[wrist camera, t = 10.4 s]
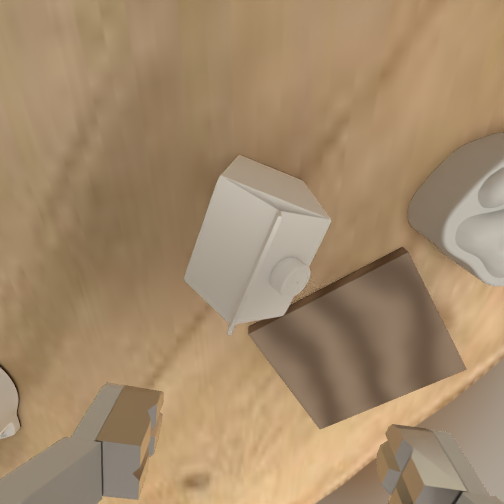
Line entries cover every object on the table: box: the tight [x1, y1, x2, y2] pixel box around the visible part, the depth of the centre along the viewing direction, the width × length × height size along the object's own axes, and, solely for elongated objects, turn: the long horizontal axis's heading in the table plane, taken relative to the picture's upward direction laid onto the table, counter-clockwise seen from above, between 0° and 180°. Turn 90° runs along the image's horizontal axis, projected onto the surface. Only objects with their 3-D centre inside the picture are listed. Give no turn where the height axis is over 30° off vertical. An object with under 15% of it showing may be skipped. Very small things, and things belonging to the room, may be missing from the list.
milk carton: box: [184, 155, 331, 336], centre depth 25 cm, size 7×7×19 cm
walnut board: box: [248, 247, 467, 429], centre depth 39 cm, size 20×18×2 cm
